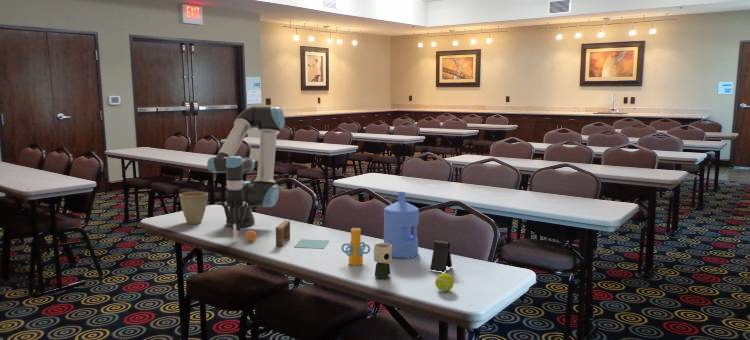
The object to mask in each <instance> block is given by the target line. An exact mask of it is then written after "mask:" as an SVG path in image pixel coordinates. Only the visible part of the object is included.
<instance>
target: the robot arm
mask: <svg viewBox="0 0 750 340" xmlns="http://www.w3.org/2000/svg"><path fill="white" fill-rule="evenodd" d="M285 119H286V118H285V115H284V111H283V110H282V109H281V107H278V106H258V105H257V106H256V105H253V106H250V107H248V108H246V109H244V110H243V111H242V112H241V113H239V115H237V116H236V118H235V120H234V122H233V128H232V129H231V130H230V132H229V134H228V136H227V138H226V139H225V141H224V143H223V145H222V146H221V147H220V149H219V151H218V153H217V155H216V156H210V157H209V158H208V160H207V170H208V171H209V172H211V173H216V174H218V173H223V174H224V173H225V174H226V200H225V201H224V202H222V203H221V206H222V207H223V211H224V215H225V218H226V220H225V225H226V226H227V227H230V228H231V229H230V230H231V231H232V235H233V237H232V238H235V239H237V238H238V237H239V231H240V230H241V228H247V227H251V225H252V226H254V225H255V224H256V223H255V222H256V221H255V217H254V214H253V211H252V207H262V208H263V207H264V208H272V207H274V206H276V205H277V202H278V199H279V195H280V189H279V186H278V185H276V183H277V182H276V181H275V180H274V175H275V174H274V172H275V160H276V148H277V147H276V146H277V137H278V134H280V133H281V130H282V129H284V127H285V123H286V121H285ZM255 128H256V129H257V132H259V135H260V137H259V139H260V140H259V147H258V148H259V149H258V158H257V159H258V162H257V171H256V172H257V173H256V174H257V175H256V178H255V179H254V180H253V184H252V183H251V182H252V181H249V180H243V179H244V178H243V177H244V176H243V175H245V174H249V173H250V172H251V173H252V171H254V169H255V162H254V160H253V159H252V158H250V157H242V156H240V155H236V153H237V151H238V149H239V148H240V146H241V144H242V142H243V140H244V139H245V137H246V135H247V133H249V132H251V130H252V129H255ZM253 224H254V225H253ZM246 226H247V227H246Z"/></svg>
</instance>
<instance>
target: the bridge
mask: <svg viewBox="0 0 750 340" xmlns="http://www.w3.org/2000/svg"><path fill="white" fill-rule="evenodd" d="M290 240H291V220H283V221H282V222H280V224H278V225H277V226H276V227H275V247H276V248H283V247H284V241H290Z"/></svg>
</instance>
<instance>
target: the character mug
mask: <svg viewBox="0 0 750 340" xmlns="http://www.w3.org/2000/svg"><path fill="white" fill-rule="evenodd" d="M391 253H392V245H391V244H388V243H384V242H378V243H375V244H373V261H374V262H376V264H375V269H374V277H377V278H379V279H388V278H389V277H391V276H392V275H391V266H390V263H391V262H392V260H393V258H392V255H391Z"/></svg>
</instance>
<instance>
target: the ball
mask: <svg viewBox="0 0 750 340" xmlns="http://www.w3.org/2000/svg"><path fill="white" fill-rule="evenodd" d="M257 237H258V236H257V233H256V231H254V230H252V229H251V230H247V231H246V232H245V233H244V238H245V240H246V242H249V243H252V242H255V240H256V239H257Z"/></svg>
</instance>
